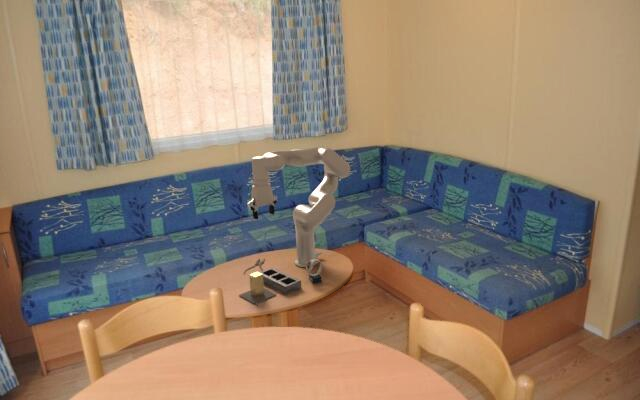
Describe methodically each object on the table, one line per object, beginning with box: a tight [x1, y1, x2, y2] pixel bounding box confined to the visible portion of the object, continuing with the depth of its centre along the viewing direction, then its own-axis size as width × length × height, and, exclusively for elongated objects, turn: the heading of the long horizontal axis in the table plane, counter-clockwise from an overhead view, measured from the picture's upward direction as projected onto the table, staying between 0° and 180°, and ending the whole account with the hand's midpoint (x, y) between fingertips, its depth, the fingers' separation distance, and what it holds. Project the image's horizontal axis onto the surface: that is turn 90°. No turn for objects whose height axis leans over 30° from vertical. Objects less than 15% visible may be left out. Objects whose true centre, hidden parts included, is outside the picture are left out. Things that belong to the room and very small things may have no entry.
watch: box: [305, 258, 324, 285], centre depth 228 cm, size 6×8×11 cm
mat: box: [239, 287, 277, 305], centre depth 218 cm, size 12×12×1 cm
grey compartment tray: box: [258, 267, 302, 295], centre depth 228 cm, size 22×9×4 cm, turn 43°
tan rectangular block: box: [248, 271, 265, 298], centre depth 216 cm, size 4×4×10 cm
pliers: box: [243, 258, 266, 275], centre depth 249 cm, size 10×1×20 cm
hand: (264, 216), depth 232 cm, fingers open, 9 cm apart
